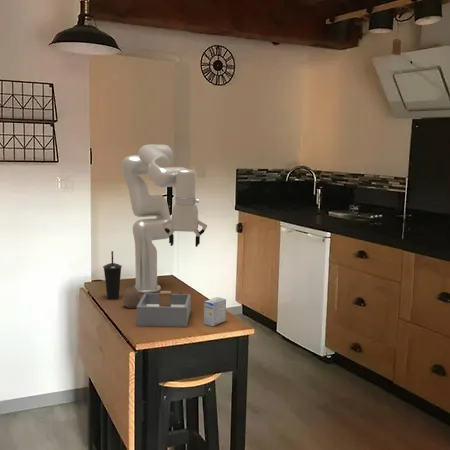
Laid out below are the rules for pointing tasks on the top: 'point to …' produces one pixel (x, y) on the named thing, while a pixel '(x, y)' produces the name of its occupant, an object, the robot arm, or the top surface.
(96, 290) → the top surface
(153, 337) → the top surface
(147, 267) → the robot arm
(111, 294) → the drinking cup
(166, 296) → the peg
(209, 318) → the medicine box
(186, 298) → the open box
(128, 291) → the vase
